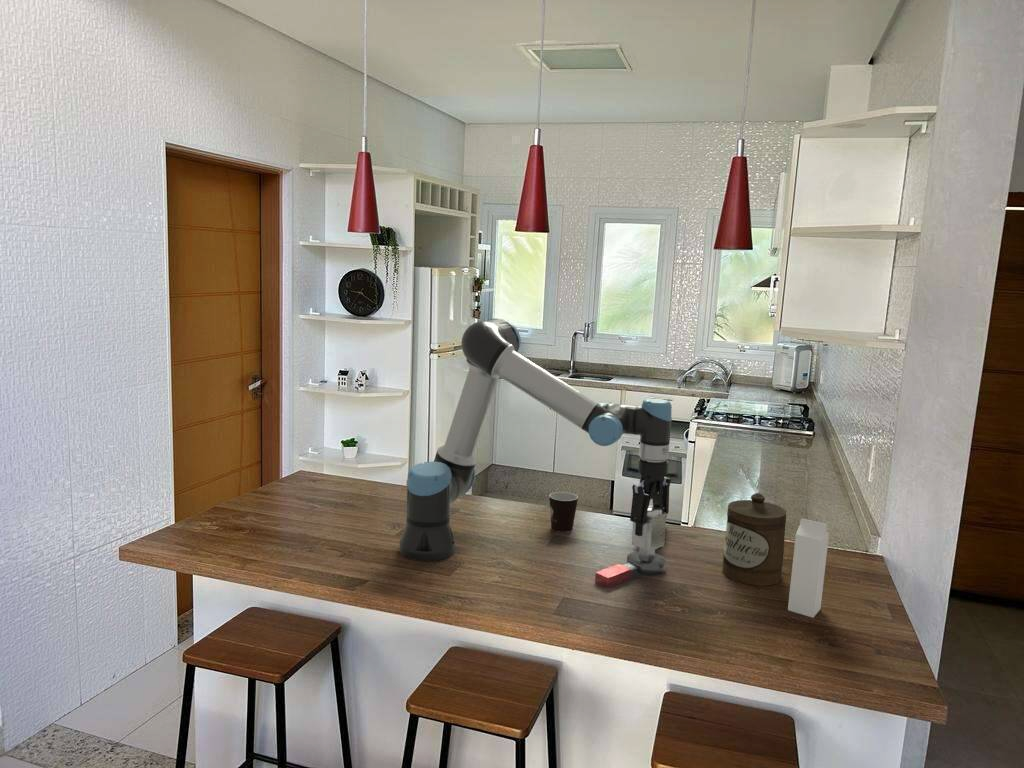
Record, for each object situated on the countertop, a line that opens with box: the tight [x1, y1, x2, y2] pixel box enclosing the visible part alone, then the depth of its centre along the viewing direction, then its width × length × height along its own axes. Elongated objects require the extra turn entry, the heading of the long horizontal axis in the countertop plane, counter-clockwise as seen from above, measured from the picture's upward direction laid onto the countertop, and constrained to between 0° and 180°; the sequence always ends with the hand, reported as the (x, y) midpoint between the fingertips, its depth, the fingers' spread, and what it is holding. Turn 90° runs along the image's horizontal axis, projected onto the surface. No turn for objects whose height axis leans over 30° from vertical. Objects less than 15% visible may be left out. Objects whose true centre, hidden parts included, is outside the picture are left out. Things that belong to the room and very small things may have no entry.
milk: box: [787, 518, 830, 618], centre depth 178 cm, size 6×6×22 cm
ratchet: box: [594, 547, 667, 589], centre depth 196 cm, size 23×10×6 cm, turn 133°
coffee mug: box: [548, 491, 579, 533], centre depth 229 cm, size 12×9×10 cm
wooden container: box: [721, 492, 787, 587], centre depth 198 cm, size 15×15×22 cm
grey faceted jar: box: [631, 504, 667, 551], centre depth 199 cm, size 6×6×10 cm
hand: (647, 543), depth 200 cm, fingers closed on grey faceted jar, 6 cm apart
